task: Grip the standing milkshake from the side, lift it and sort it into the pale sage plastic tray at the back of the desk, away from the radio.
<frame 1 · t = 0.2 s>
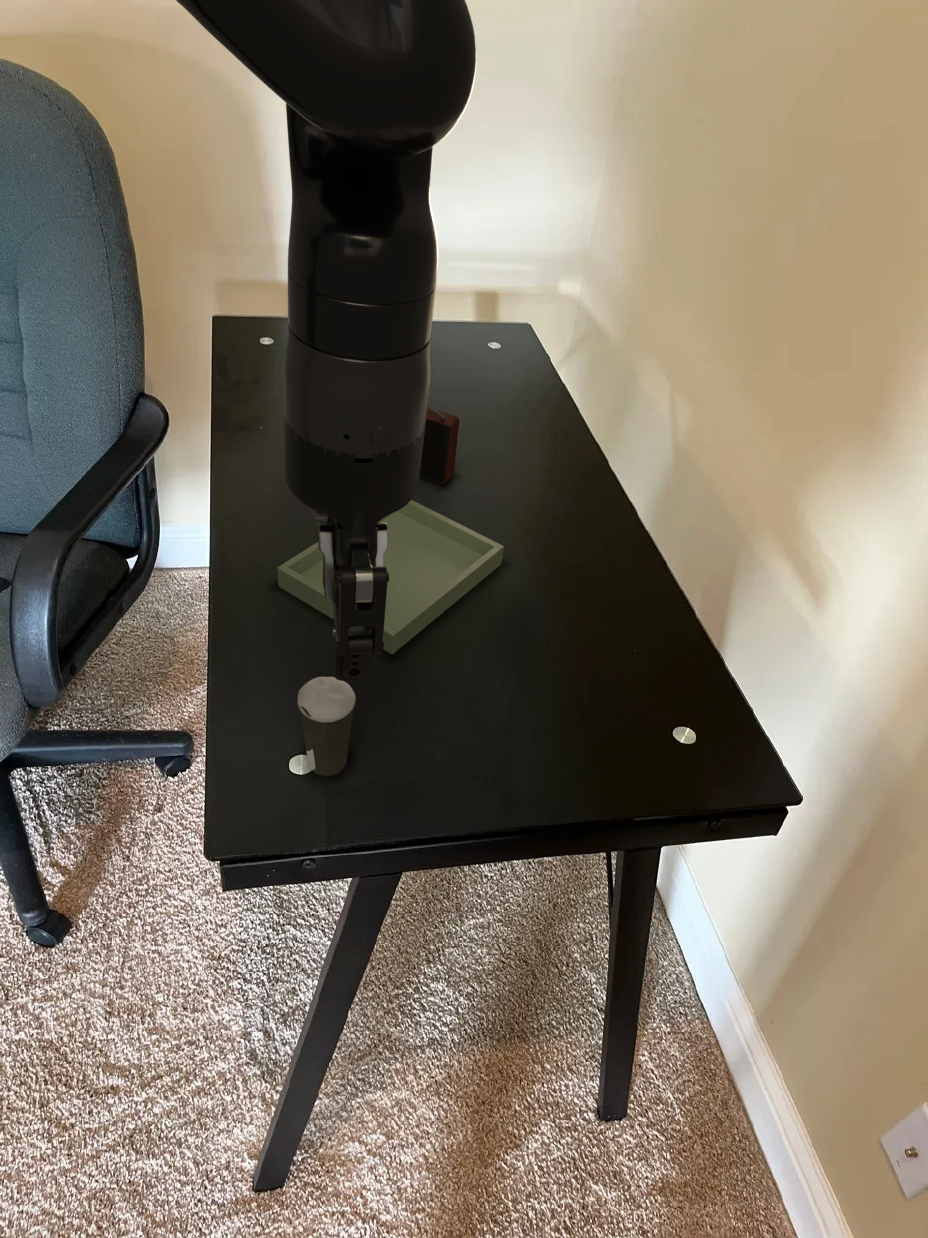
hand: (344, 629, 55), 20 cm above the table, tool pointing down, fingers open, 8 cm apart
radio: (386, 460, 109), on the table
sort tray: (393, 575, 91), on the table
milkshake: (324, 766, 71), on the table
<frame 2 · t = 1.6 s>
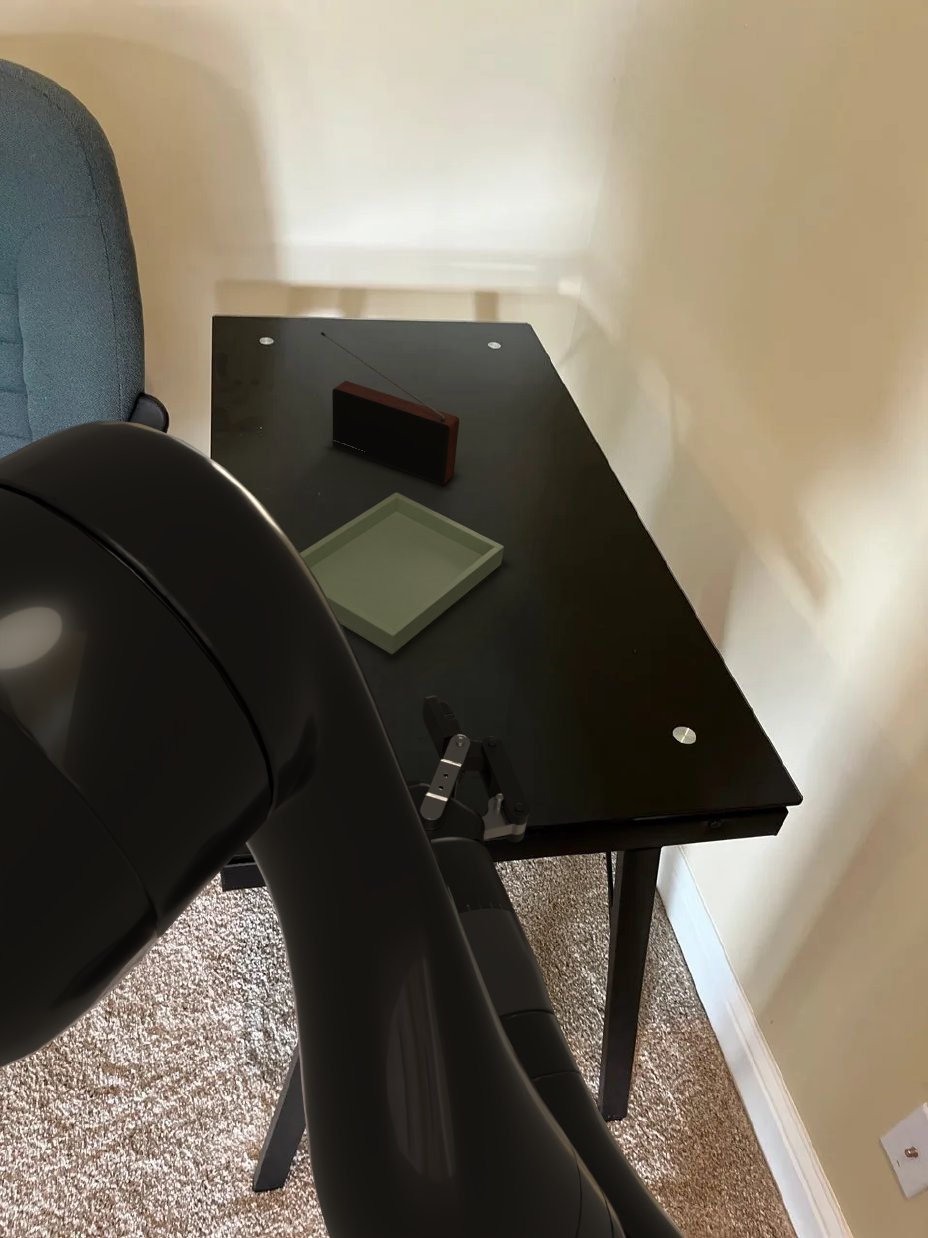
hand: (363, 718, 51), 18 cm above the table, tool horizontal, fingers open, 8 cm apart
nothing on the table moved.
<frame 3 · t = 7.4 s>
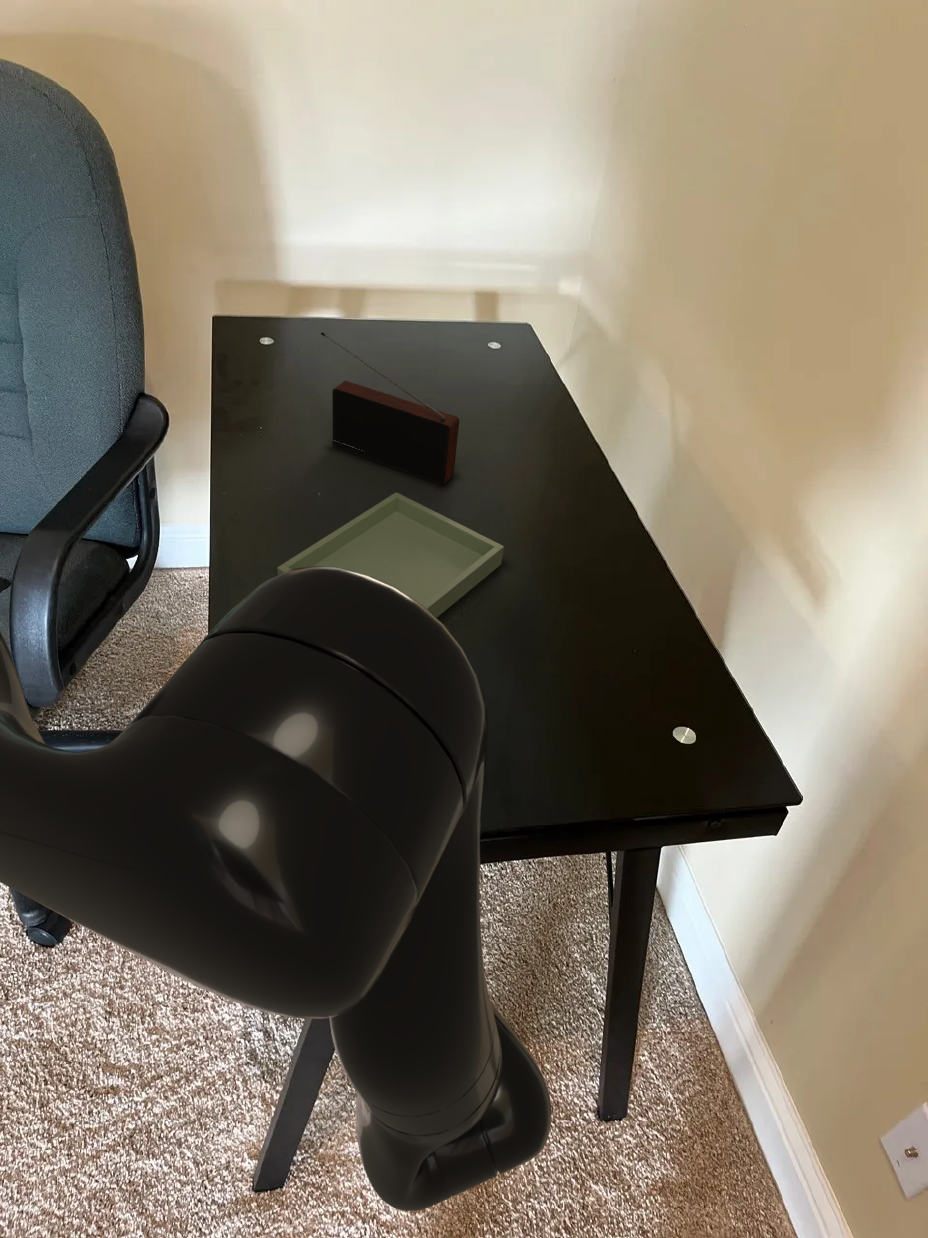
hand: (316, 682, 68), 8 cm above the table, tool horizontal, fingers closed on milkshake, 4 cm apart
milkshake: (324, 766, 71), on the table, touching gripper
everything else where it was.
when the fingers open (8 cm above the table, at t = 16.4 s): milkshake stays where it is, resting on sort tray.
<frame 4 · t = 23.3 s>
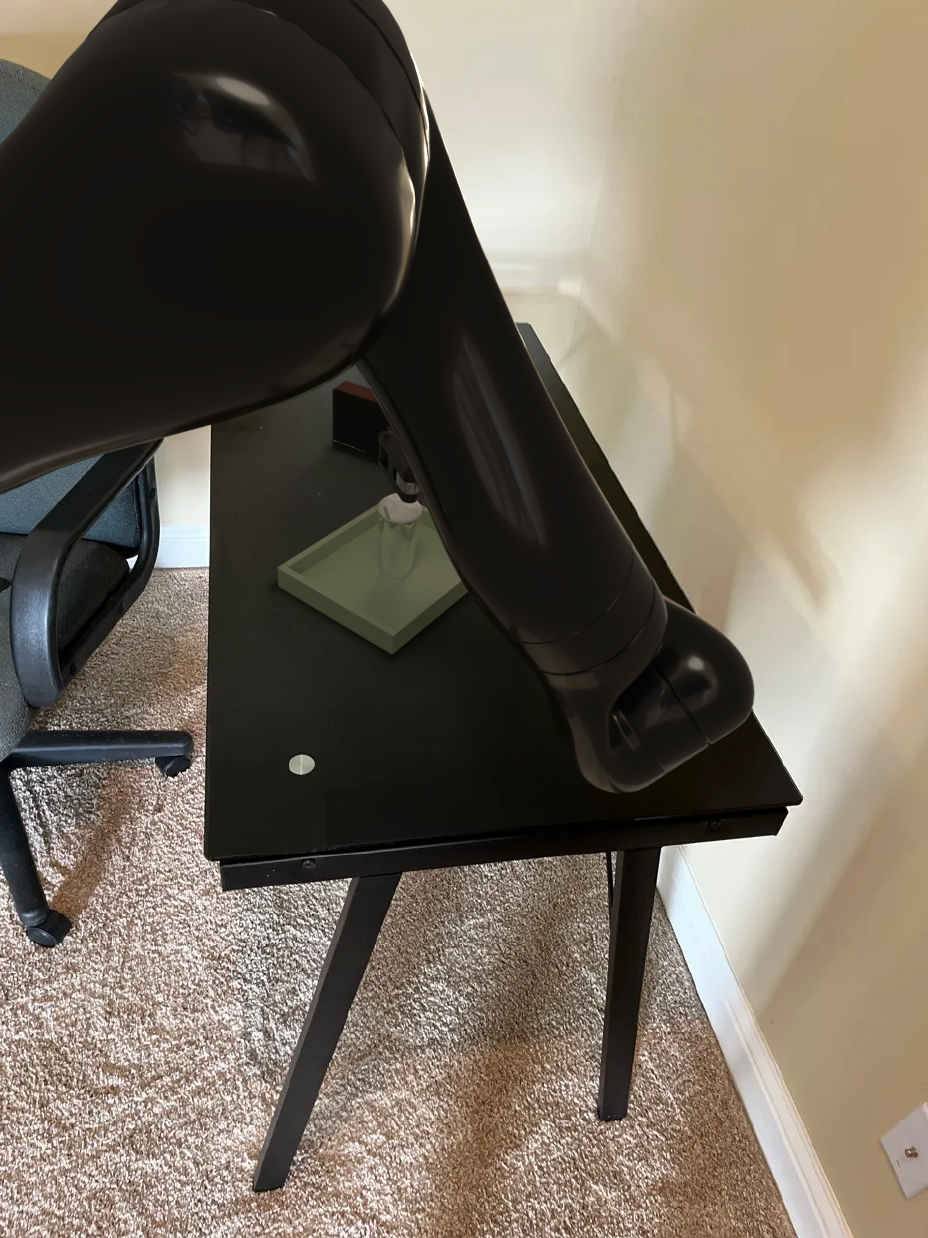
hand: (447, 409, 66), 26 cm above the table, tool horizontal, fingers open, 8 cm apart
milkshake: (394, 573, 90), resting on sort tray
everything else where it was.
at the end: milkshake inside the target area in the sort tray (0.2 cm from its centre), point 0.4 cm above the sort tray's base; milkshake tilted 0°; the gripper is holding nothing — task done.
